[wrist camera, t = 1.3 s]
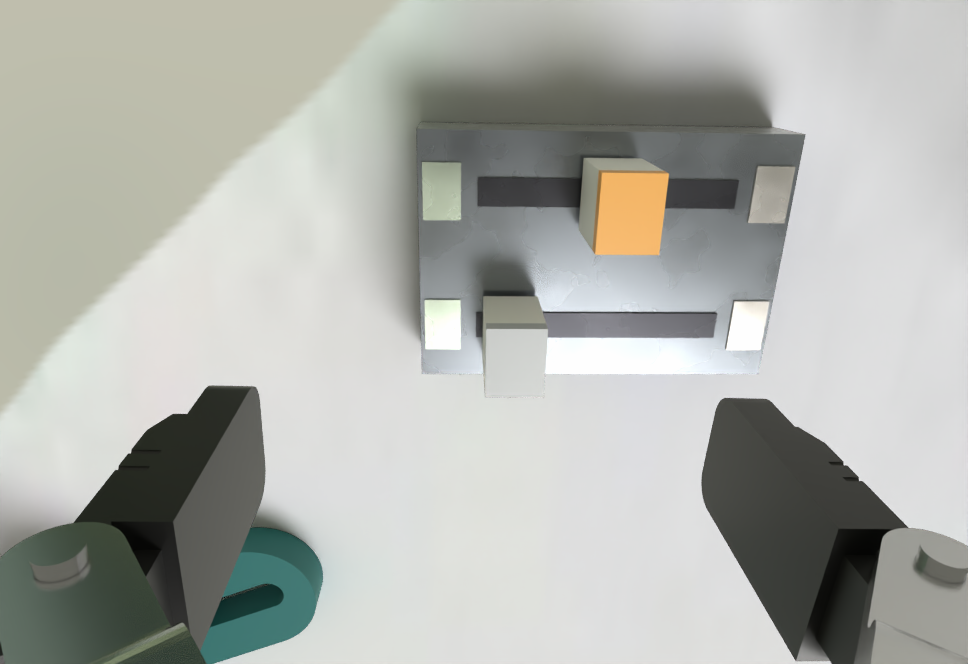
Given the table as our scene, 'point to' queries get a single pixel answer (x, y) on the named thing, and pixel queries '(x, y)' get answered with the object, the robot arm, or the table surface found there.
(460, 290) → the panel
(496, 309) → the block
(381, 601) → the table surface
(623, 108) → the table surface
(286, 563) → the bracket
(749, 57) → the table surface
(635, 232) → the block
